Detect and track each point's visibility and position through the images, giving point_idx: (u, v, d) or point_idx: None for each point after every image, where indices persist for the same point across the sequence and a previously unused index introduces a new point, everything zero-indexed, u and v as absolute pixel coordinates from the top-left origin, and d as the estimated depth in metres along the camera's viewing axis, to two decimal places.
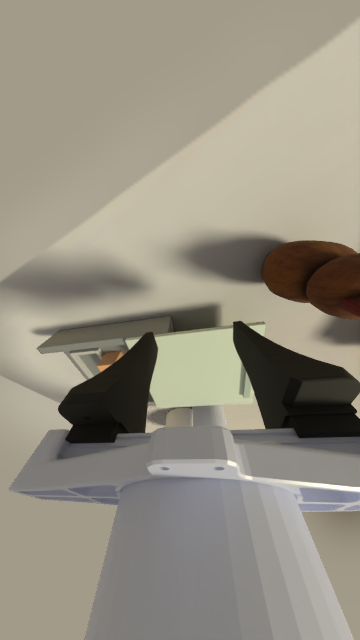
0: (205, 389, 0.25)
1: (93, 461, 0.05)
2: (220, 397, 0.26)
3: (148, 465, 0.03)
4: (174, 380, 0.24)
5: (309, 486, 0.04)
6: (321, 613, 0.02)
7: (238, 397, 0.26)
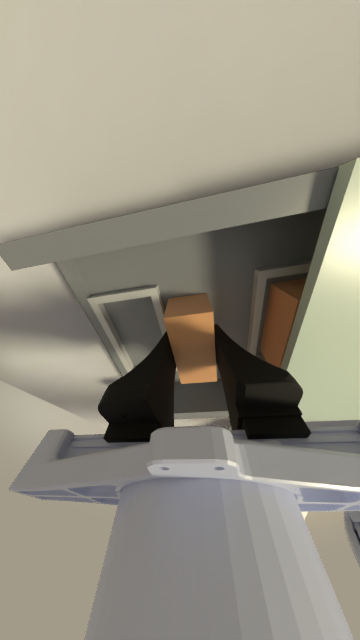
0: None
1: (93, 461, 0.05)
2: None
3: (148, 465, 0.03)
4: None
5: (309, 486, 0.04)
6: (321, 613, 0.02)
7: None
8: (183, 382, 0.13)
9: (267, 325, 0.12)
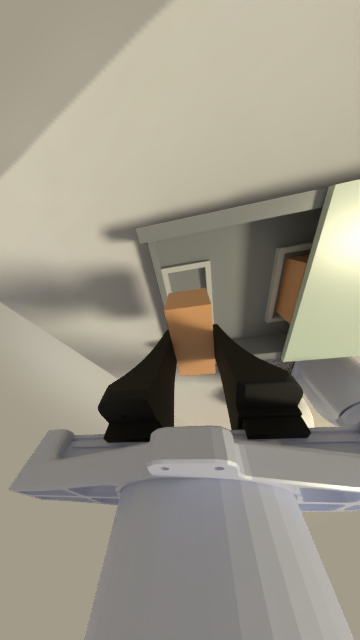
0: None
1: (93, 461, 0.05)
2: None
3: (148, 465, 0.03)
4: (355, 299, 0.14)
5: (309, 486, 0.04)
6: (321, 613, 0.02)
7: None
8: (183, 374, 0.13)
9: (282, 289, 0.18)
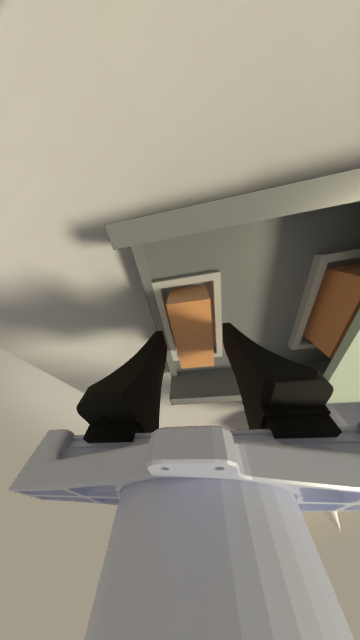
0: None
1: (93, 461, 0.05)
2: None
3: (148, 465, 0.03)
4: None
5: (309, 486, 0.04)
6: (321, 613, 0.02)
7: None
8: (183, 366, 0.14)
9: (318, 309, 0.13)
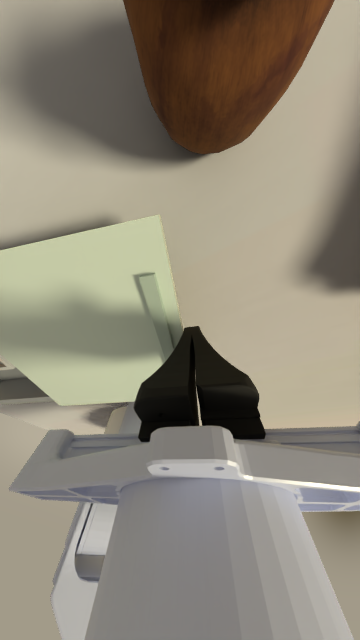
0: (113, 374, 0.15)
1: (93, 461, 0.05)
2: None
3: (148, 465, 0.03)
4: (54, 358, 0.14)
5: (309, 486, 0.04)
6: (321, 613, 0.02)
7: None
8: None
9: None
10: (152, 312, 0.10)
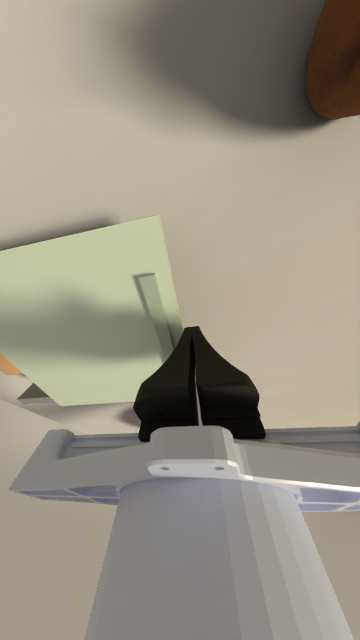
0: (113, 375, 0.15)
1: (93, 461, 0.05)
2: None
3: (148, 465, 0.03)
4: (54, 359, 0.14)
5: (309, 486, 0.04)
6: (321, 613, 0.02)
7: None
8: (7, 373, 0.18)
9: None
10: (152, 312, 0.10)
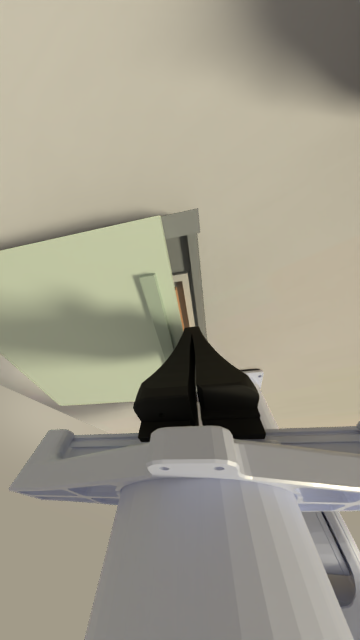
0: (113, 374, 0.15)
1: (93, 461, 0.05)
2: None
3: (148, 465, 0.03)
4: (54, 358, 0.14)
5: (309, 486, 0.04)
6: (321, 613, 0.02)
7: None
8: None
9: None
10: (152, 312, 0.10)
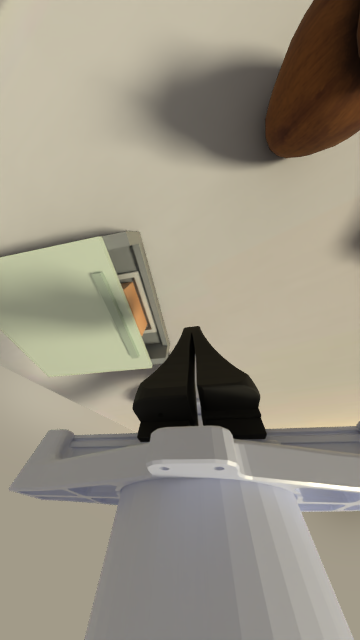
0: (86, 348, 0.20)
1: (93, 461, 0.05)
2: (110, 360, 0.22)
3: (148, 465, 0.03)
4: (41, 334, 0.19)
5: (309, 486, 0.04)
6: (321, 613, 0.02)
7: (131, 359, 0.21)
8: None
9: None
10: (104, 298, 0.15)
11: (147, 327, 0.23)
